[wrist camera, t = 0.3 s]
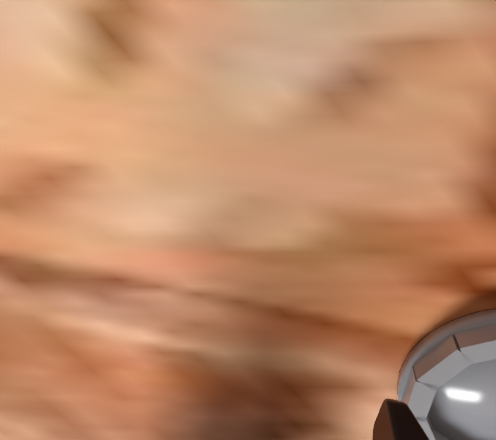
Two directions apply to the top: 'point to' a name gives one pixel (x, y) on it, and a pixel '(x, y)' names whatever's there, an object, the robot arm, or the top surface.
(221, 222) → the top surface
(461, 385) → the gray bowl
